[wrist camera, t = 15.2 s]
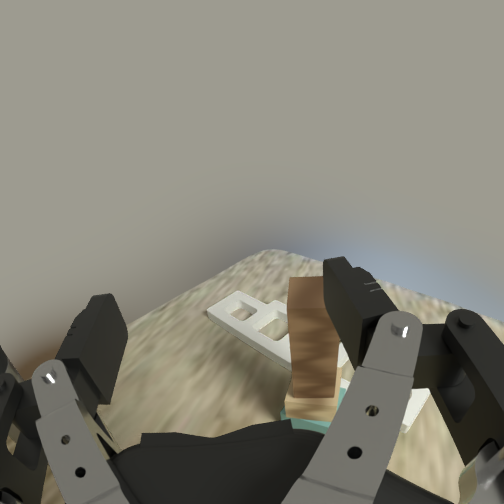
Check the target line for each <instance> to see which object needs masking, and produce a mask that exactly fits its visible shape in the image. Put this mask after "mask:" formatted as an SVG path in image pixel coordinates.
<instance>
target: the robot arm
mask: <svg viewBox="0 0 504 504" xmlns="http://www.w3.org/2000/svg"><path fill="white" fill-rule="evenodd" d="M323 297H324V304H325V307H326V310H327V313H328V315H329V317H330V319H331V321H332V323H333V325H334V327H335V329H336V331H337V334H338V336H339V338H340V340H341V342H342V344H343V346H344V348H345V351H346V353H347V355H348V357H349V359H350V361H351V364H352V366H353V368H354V370H355V373H354V375H353V377H352V380H351V382H350V384H349V386H348V389H347V391H346V393H345V395H344V397H343V399H342V402H341V404H340V406H339V408H338V410H337V412H336V414H335V416H334V418H333V420H332V422H331V424H330V426H329V428H328V430H327V432H326V434H323V433H320V432H317V431H312V430H307V429H293V427H292V423H291V419H285V420H280V421H274V422H268V423H262V424H255V425H251V426H248V427H245V428H243V429H240V430H237V431H234V432H231V433H228V434H225V435H222V436H219V437H215V438H209V437H201V436H195V435H188V434H182V433H177V432H171V433H142V435H141V443H140V444H137V445H134V446H131V447H129V448H127V449H125V450H123V451H122V450H121V449H120V447H119V446H118V444H117V443H116V441H115V439H114V438H113V436H112V434H111V433H110V431H109V429H108V428H107V426H106V424H105V423H104V421H103V419H102V417H101V415H100V414H99V413H98V411H97V406H98V404H109V405H110V402H111V398H112V394H113V390H114V387H115V383H116V379H117V375H118V372H119V368H120V364H121V361H122V357H123V354H124V350H125V347H126V343H127V340H128V331H127V327H126V324H125V322H124V319H123V317H122V315H121V312H120V310H119V308H118V305H117V303H116V301H115V298H114V296H113V295H112V294H110V293H109V294H102V295H95V296H92V298H91V299H90V301H89V303H88V305H87V307H86V309H84V310H83V311H82V312H81V313H80V314H79V315H78V316H77V317H76V318H75V319H74V321H73V323H72V325H71V329H69V331H68V333H67V336H66V337H65V339H64V341H63V343H62V345H61V347H60V349H59V351H58V353H57V355H56V357H55V359H54V360H49V361H46V362H44V363H43V364H41V365H40V366H39V367H38V368H37V369H36V370H35V371H34V373H33V375H32V379H30V380H27V381H24V380H23V378H22V377H21V376H20V374H19V373H18V371H17V370H16V369H15V367H14V366H13V365H12V363H11V362H10V360H9V359H8V357H7V356H6V354H5V353H4V351H3V350H2V348H1V346H0V504H41V498H42V491H43V485H44V480H45V475H46V469H47V465H48V463H49V465H50V468H51V470H52V473H53V475H54V478H55V480H56V483H57V485H58V487H59V490H60V492H61V494H62V496H63V499H64V501H65V504H454V503H452V502H450V501H448V500H446V499H444V498H442V497H440V496H438V495H436V494H433V493H431V492H429V491H427V490H425V489H423V488H421V487H419V486H417V485H415V484H413V483H411V482H410V481H408V480H406V479H404V478H402V477H400V476H398V475H396V474H395V473H393V472H391V471H389V470H387V469H386V468H387V466H388V463H389V460H390V458H391V455H392V452H393V449H394V446H395V444H396V441H397V438H398V435H399V431H400V428H401V425H402V422H403V419H404V415H405V412H406V408H407V405H408V401H409V397H410V393H411V390H412V389H425V388H428V389H429V391H430V393H431V395H432V397H433V399H434V401H435V403H436V405H437V407H438V409H439V411H440V413H441V415H442V417H443V419H444V421H445V423H446V425H447V427H448V429H449V432H450V434H451V436H452V438H453V440H454V442H455V445H456V447H457V449H458V451H459V454H460V456H461V458H462V461H463V463H464V465H465V468H464V469H463V470H462V472H461V474H460V477H459V482H458V483H459V491H460V500H459V504H504V345H503V343H502V342H501V341H500V340H499V338H498V337H497V336H496V335H495V333H494V332H493V331H492V330H491V328H490V327H489V326H488V325H487V324H486V322H485V321H484V320H483V319H482V318H481V317H480V316H479V315H478V314H477V313H475V312H473V311H470V310H466V309H458V310H454V311H452V312H450V313H449V314H448V316H447V318H446V321H445V324H422V323H421V321H420V320H419V319H418V318H417V317H416V316H415V315H413V314H411V313H408V312H404V311H399V310H398V309H397V307H396V306H395V305H394V303H393V302H392V301H391V300H390V298H389V297H388V296H387V294H386V293H385V292H384V290H383V289H381V287H380V285H379V284H378V283H376V280H375V279H374V278H373V276H372V275H371V274H370V273H369V272H367V271H365V270H364V269H362V268H360V267H356V268H352V266H351V265H350V264H349V262H348V261H347V260H346V258H345V257H337V258H331V259H326V260H324V261H323ZM7 436H9V437H10V438H11V439H12V440H13V441H14V442H16V443H17V444H16V447H15V451H14V454H13V455H12V454H11V453H10V452H9V451H8V449H7V445H6V440H7Z"/></svg>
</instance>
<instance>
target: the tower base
mask: <svg viewBox="0 0 504 504" xmlns="http://www.w3.org/2000/svg"><path fill="white" fill-rule="evenodd" d="M345 393H346V389H345V388H341V387H340V391H339V398H338V404H337V410H338V408H339V406H340V404H341V402H342V399H343V397H344V395H345ZM336 412H337V411H336ZM280 414H281V420H285V419H291V423H292V427H293V429H307V430H312V431H317V432H320V433H323V434H326V432H327V430H328V428H329V426H330V424H331V422H324V421H314V420H305V419H297V418H289V417H286V411H285V406H284V407H283V409H282V411H281V412H280Z"/></svg>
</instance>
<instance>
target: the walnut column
mask: <svg viewBox="0 0 504 504" xmlns="http://www.w3.org/2000/svg"><path fill="white" fill-rule="evenodd" d="M287 319H288V331H289V342H290V354H291V366H292V379H293V393H294V398H334V395H335V385H336V375H337V364H338V352H339V336H338V334H337V331H336V329H335V327H334V325H333V323H332V321H331V319H330V317H329V315H328V313H327V310H326V307H325V304H324V297H323V276H317V277H290V279H289V289H288V299H287Z"/></svg>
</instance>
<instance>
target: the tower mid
mask: <svg viewBox="0 0 504 504" xmlns="http://www.w3.org/2000/svg"><path fill="white" fill-rule="evenodd" d="M341 375H342V367H337V375H336V385H335V395H334V398H294V393H293V379H292V377H291V381H290V384H289V387H288V391H287V394H286V398H285V411H286V417H289V418H297V419H305V420H314V421H324V422H332V420H333V418H334V416H335V414H336V411H337V404H338V398H339V391H340V384H341Z"/></svg>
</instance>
